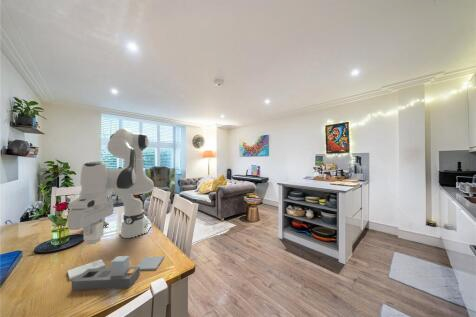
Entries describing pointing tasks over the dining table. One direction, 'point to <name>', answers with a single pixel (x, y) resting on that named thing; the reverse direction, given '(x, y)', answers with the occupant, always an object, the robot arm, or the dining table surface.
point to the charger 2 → (120, 266)
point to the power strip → (104, 279)
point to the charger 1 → (94, 233)
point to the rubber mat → (150, 263)
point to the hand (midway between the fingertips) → (93, 232)
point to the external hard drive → (84, 269)
